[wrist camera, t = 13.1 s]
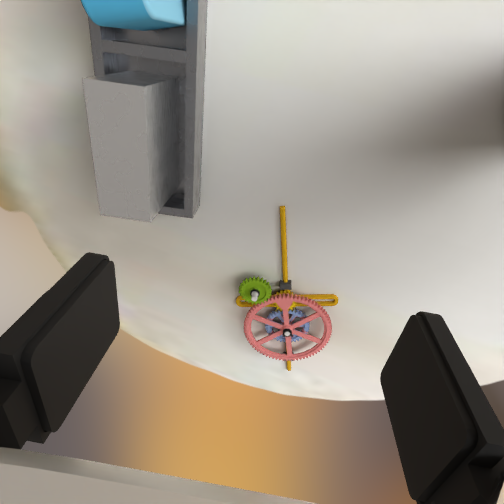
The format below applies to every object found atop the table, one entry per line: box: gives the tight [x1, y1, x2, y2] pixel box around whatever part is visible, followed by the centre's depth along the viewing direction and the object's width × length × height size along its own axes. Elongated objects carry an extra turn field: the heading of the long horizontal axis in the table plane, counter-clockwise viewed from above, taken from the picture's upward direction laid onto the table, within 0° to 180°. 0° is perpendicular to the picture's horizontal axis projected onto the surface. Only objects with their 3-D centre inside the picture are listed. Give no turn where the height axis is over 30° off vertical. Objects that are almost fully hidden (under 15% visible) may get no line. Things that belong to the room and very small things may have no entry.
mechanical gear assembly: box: [236, 206, 338, 371], centre depth 49 cm, size 30×4×15 cm
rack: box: [82, 0, 207, 222], centre depth 30 cm, size 11×33×11 cm, turn 173°
